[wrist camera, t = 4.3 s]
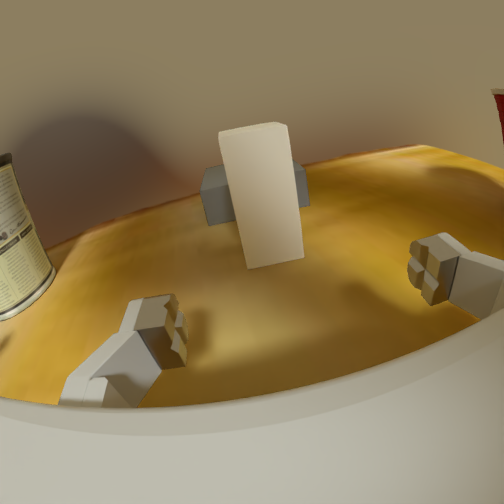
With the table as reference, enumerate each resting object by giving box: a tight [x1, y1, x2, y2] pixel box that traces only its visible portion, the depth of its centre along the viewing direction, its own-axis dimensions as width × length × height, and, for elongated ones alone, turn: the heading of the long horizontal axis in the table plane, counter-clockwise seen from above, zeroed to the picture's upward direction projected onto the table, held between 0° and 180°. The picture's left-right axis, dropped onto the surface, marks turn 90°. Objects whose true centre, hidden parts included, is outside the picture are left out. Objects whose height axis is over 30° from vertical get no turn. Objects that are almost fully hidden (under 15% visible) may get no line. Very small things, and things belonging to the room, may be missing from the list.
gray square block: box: [200, 159, 310, 226], centre depth 31 cm, size 10×10×4 cm
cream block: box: [218, 122, 304, 270], centre depth 19 cm, size 4×4×9 cm
